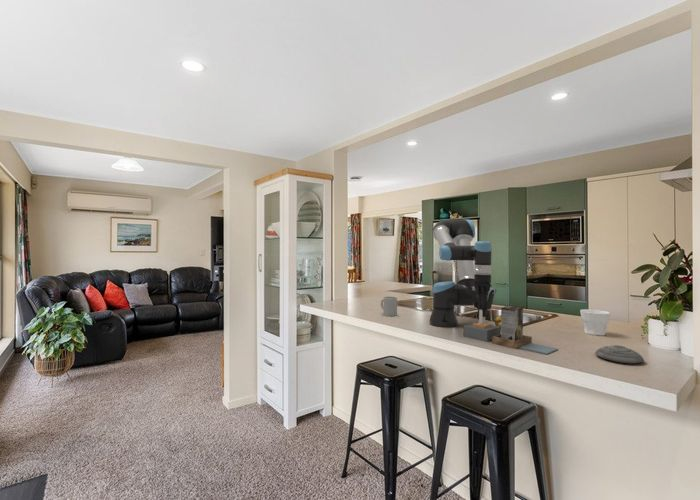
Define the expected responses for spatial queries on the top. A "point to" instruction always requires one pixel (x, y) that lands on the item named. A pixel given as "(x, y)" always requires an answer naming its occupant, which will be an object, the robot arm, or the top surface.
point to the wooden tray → (511, 341)
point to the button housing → (481, 332)
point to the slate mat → (538, 348)
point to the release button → (482, 325)
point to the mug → (389, 306)
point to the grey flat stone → (619, 354)
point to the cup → (595, 321)
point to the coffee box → (512, 323)
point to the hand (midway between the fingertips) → (482, 323)
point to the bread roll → (498, 321)
